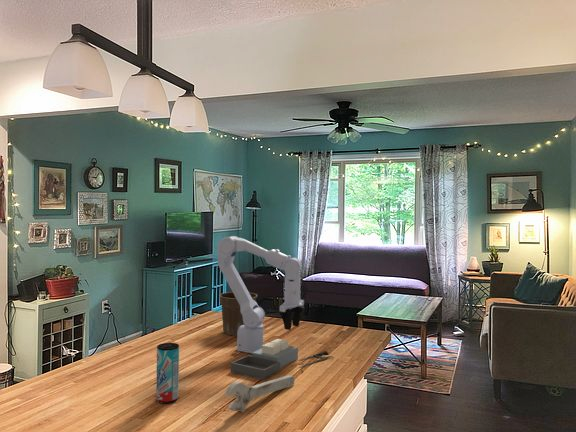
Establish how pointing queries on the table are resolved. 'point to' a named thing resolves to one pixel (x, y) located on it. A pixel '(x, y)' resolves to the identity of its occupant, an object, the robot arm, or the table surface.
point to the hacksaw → (316, 360)
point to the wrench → (255, 391)
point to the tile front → (271, 348)
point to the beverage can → (167, 372)
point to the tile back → (281, 343)
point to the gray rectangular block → (280, 355)
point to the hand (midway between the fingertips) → (291, 327)
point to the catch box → (255, 367)
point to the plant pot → (232, 312)
